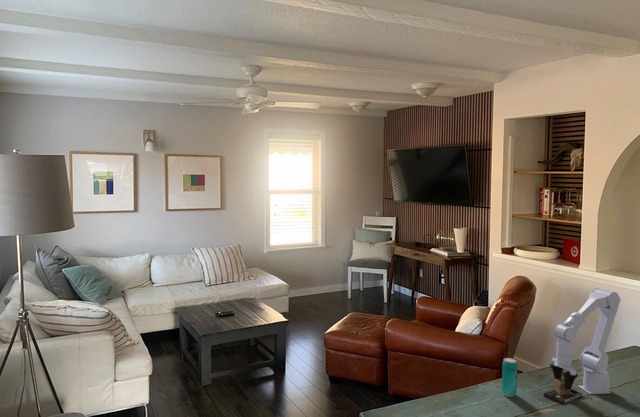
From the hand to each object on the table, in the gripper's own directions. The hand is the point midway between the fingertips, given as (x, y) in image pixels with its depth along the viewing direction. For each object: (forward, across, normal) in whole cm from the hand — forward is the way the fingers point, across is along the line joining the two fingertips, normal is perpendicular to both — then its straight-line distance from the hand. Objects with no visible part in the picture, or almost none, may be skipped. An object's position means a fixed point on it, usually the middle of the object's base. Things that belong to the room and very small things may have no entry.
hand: (562, 385), depth 209 cm
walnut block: (+3, 0, 0) cm, 3 cm away
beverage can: (+5, -3, -22) cm, 23 cm away
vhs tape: (+6, +1, 0) cm, 6 cm away
